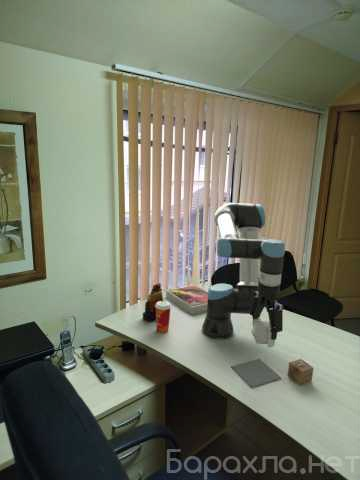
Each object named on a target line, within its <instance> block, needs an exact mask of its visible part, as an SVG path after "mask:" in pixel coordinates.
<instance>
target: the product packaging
mask: <svg viewBox="0 0 360 480" xmlns="http://www.w3.org/2000/svg"><path fill="white" fill-rule="evenodd" d="M165 293H166V294H165V297H166V299H168V300H170V301H171V302H172V303H173V304H175V305H177V306H179V307H180V308H181V309H183V310H184V311H186V312H187V313H189V314H190V315H192V316H194V315H198V314H201V313H204V312H205V313H207V302H208V298H207V296H208V291H207V290H204V289H203V288H201V287H200V286H197V285H195V284H191V285H187V286H183V287H178V288H172V289H167V290H166V291H165Z"/></svg>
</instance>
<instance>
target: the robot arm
mask: <svg viewBox="0 0 360 480" xmlns="http://www.w3.org/2000/svg"><path fill="white" fill-rule="evenodd" d="M214 223H215V226H217V227H218V229H217V230H218V233H219V238H217V243H216V255H217V257H219V258H225V259H239V282H238V283H237V284H236V288H235V287H233V285H231V284H229V283H228V284H227V283H216V284H213V285H211V286H210V287H209V288H208V291H207V292H208V296H207V298H208V302H207V311H206V315H205V318H204V321H203V323H202V327H201V331H202V334H204V335H205V336H206V337H209V338H211V339H215V340H226V339H229V338H231V337H232V336H233V335H234V325H233V322H232V317H231V316H232V314H244V315H245V314H246V315H250V316H252V317H251V318H252V328H253V327H254V326H255V324H256V322H257V321H261V315H262V312H263V311H264V309H265V310H266V312H267V314H268V315H267V316H268V320H269V321H268V322H270V327H271V330H269V335H268V344H266V345H267V348H272V347H275V345H276V340H277V336H278V333H280V332H283V323H284V322H283V317H284V315H283V314H284V313H283V310H284V307H285V306H284V304H283V303H282V304H280V303H279V302H278V296H279V295H280V291H281V284H282V283H281V282H282V273H283V266H284V260H285V259H284V257H285V253H286V251H285V249H286V247H285V246H286V245H285V242H284V241H282V240H279V239H275V238H267V237H259V233H261V231H262V229H263V228H264V227H265V225H266V212H265V209H264V207H263V205H262V204H259V203H243V202H240V203H239V202H237V203H235V202H229V203H225V204H224V205H222V206H220V207H219V208H218V209H217V210H216V212H215V213H214ZM238 232H239V234H240V236H239V234H238ZM259 260H260V262H259ZM259 263H260V265H259ZM259 266H260V267H259ZM251 335H252V336H253V334H252V333H251Z"/></svg>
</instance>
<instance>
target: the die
mask: <svg viewBox="0 0 360 480" xmlns="http://www.w3.org/2000/svg"><path fill="white" fill-rule="evenodd" d="M269 330H271V327H270V321H261V320H260V321H257V322H256V324H255V326H254V327H253V326H252V329H251V332H250V333H251V335H252V334H253V335H252V336H253V338H254V341H255V343H256V344H257V345H267V344H268V335H269Z"/></svg>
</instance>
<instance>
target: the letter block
mask: <svg viewBox="0 0 360 480" xmlns="http://www.w3.org/2000/svg"><path fill="white" fill-rule="evenodd" d="M313 374H314V367H313V366H312V365H310V364H309V363H308V362H306V361H305V360H303V359H302V358H299V359H296V360H292V361H289V362H288V370H287V377H288V378H289V379H291V381H293V382H294V383H295V384H297V385H298V386H299V387H300V386H301V387H302V386H304V385H306V384H309V383H312V382H313V381H312V380H313V376H314V375H313Z"/></svg>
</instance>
